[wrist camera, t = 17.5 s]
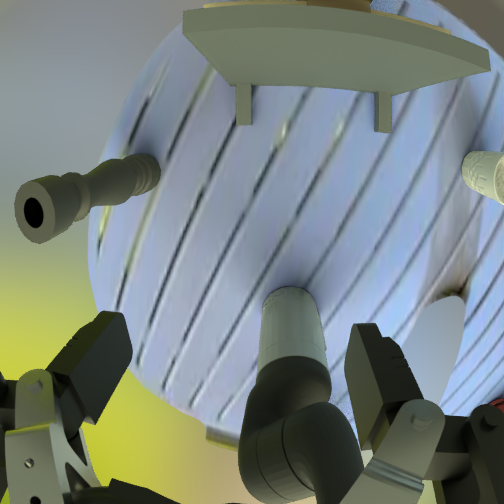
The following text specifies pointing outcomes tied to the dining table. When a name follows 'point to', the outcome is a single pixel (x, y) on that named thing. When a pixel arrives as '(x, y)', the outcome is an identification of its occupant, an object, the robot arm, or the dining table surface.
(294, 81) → the wall board
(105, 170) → the candle holder
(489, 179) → the white cup
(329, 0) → the cabinet
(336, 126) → the dining table surface
